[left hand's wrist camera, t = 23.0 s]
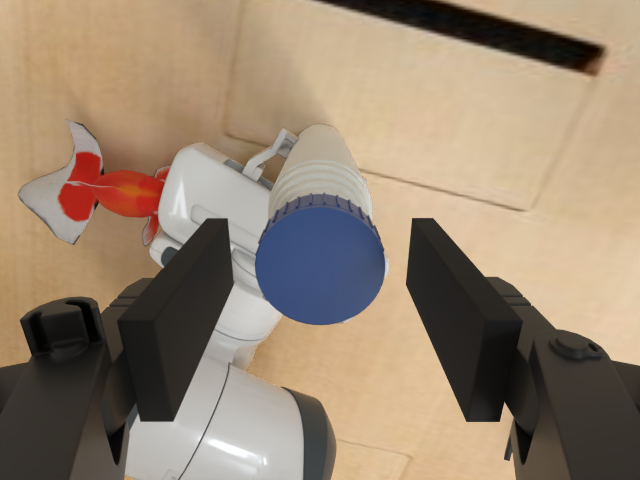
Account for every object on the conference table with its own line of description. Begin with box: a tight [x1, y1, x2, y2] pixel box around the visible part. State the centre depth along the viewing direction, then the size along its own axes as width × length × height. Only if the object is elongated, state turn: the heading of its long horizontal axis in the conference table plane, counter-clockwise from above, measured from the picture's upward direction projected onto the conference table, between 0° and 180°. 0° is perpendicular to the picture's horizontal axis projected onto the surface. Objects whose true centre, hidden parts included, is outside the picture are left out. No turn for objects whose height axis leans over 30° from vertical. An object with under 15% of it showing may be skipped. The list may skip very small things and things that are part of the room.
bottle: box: [268, 124, 373, 221], centre depth 25 cm, size 5×5×25 cm
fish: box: [18, 120, 171, 246], centre depth 34 cm, size 11×16×10 cm
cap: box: [255, 193, 385, 325], centre depth 14 cm, size 4×4×2 cm
